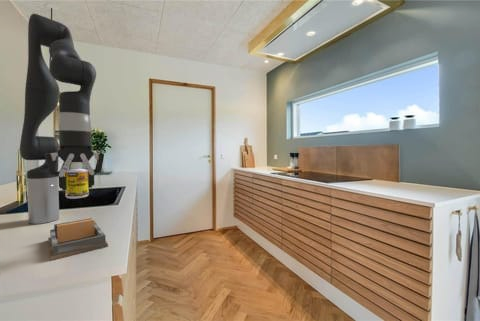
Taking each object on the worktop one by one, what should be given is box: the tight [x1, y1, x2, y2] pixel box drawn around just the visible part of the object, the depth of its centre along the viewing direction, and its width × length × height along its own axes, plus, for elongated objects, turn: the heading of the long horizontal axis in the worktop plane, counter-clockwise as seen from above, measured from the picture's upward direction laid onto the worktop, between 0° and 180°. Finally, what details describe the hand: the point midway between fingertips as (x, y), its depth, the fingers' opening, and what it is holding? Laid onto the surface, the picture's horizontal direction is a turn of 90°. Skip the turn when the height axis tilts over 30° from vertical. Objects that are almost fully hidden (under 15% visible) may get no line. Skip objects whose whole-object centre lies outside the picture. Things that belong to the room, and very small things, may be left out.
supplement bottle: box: [64, 162, 90, 200], centre depth 66 cm, size 6×6×10 cm
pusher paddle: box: [57, 218, 95, 243], centre depth 70 cm, size 1×9×5 cm, turn 131°
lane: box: [48, 217, 109, 261], centre depth 69 cm, size 17×13×5 cm
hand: (77, 188), depth 66 cm, fingers closed on supplement bottle, 5 cm apart
